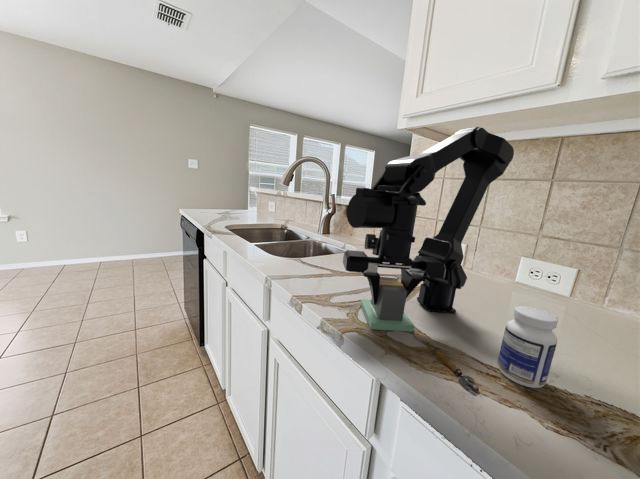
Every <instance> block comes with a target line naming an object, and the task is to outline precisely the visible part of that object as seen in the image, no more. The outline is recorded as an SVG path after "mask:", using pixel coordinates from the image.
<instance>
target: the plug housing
mask: <svg viewBox="0 0 640 479" xmlns="http://www.w3.org/2000/svg"><path fill="white" fill-rule="evenodd" d="M406 297H407V290H406V289H405V288H404V287H403V285H402V283H401V280H398V279H397V278H396V277H386V276H380V282H379V291H378V299H377V303H376V305H374V304H373V300H372V298H371V304H372V306H373V308H374V310H375V312H376V314H377V316H378V318H379V319H383V320H396V321H402V319H403V313H405V308H406V307H405V306H406V301H407V298H408V297H407V298H406Z"/></svg>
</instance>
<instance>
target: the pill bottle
mask: <svg viewBox="0 0 640 479" xmlns="http://www.w3.org/2000/svg"><path fill="white" fill-rule="evenodd" d="M512 315H513V317H514V318H512V319H510V320H509V321H507V323H506V324H505V329H504V333H503V337H502V341H501V345H500V351H499V354H498V358H497V361H496V362H497V363H496V365H497V368H498V370H499V371H500V373H502V375H503V376H504V377H506V378H508V379H509V380H510V381H512V382H514V383H516V384H518V385H521V386H524V387H527V388H532V389H540V388H543V387H544V386H545V385H546V383H547V381H548V376H549V373H550V370H551V366H552V363H553V360H554V359H553V358H554V356H555V353H556V348H557V344H558V337H557V335H556V334H555V332H554V330H556V329H557V326H558V322H559V319H558V317H557V316H555V315H554V314H552V313H550V312H548V311H545V310H542V309H539V308H535V307H531V306H526V305H519V306H515V308H514V309H513V314H512Z"/></svg>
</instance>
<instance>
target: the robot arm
mask: <svg viewBox="0 0 640 479" xmlns="http://www.w3.org/2000/svg"><path fill="white" fill-rule="evenodd" d="M514 154H515V150H514V147H513V146H512V144H511V143H509V142H508V141H507V140H506V139H505V137H502V136H498V135H496V134H493V133H490V132H488V131H487V130H486V129H485V128H484V127H480V126H474V127H469V128H463V129H462V128H461V129H460V130H458V131H455V133H454V134H452V135H451V136H449V137H447V138H445V139H443V140H442V141H440V142H438V143H436V144H434V145H432V146H431V147H429V148H427V149H426V150H424V151H422V152H420V153H417V154H414V155H407V156H403V157H401V158H396V159H393V160H390V161H389V162H388V163H387V164H386V165H384V166H385V167H384V171H383V173H382V174H381V175H380V176H379V179H378V180H377V181H376V182H375V183H374V185H373V186H372V188H369V187H356V189H355V194H354V195H352V197H351V198H350V200H349V202H348V205H346V208H345V209H346V212H345V214H346V220H347V222H348V224H349V225H350V227H352V228H354V229H381V230H380V231H379V234H378V237H377V235H376V234H374V233H366V234H365V236H364V237H365V239H364V249H365V250H372V255H373V256H368V255H367V254H366V252H365V251H363V250H361V251H360V250H349V249H348V250H345V252H343V259H342V264H343V267H344V270H345V271H346V272H350V273H360V274H362V276H363V277H365V278H366V279H367V281H368V285H369V289H370V294H371V299H372V300H373V304H374V305H376V303H377V299H378V291H379V282H380V277H381V274H379V272H378V268H382V269H384V268H385V269H396V270H400V273H401V274H400V276H401V277H400V278H401V279H400V282H401V283H402V285H403V287H404V288H405V289H406V290H407V297H406V299H407V298H408V297H409V295H410V294H411V293H412V292H413V291H414V290H415V289H416V288H417V287H418V286H419V284H420V288H419V293H418V296H417V298H416V300H417V301H418V302H419V303H420V304H421V305H422V306H423V307H424V308H425V309H426V310H427V311H428V312H437V313H453V314H456V313H457V309H455V308H454V307H453V306H454V301H455V297H456V291H457V290H461V289H462V287H464V286H465V284H466V282H467V280H468V276H467V274H466V273H465V270H464V268H463V266H462V263H463V260H464V252H463V247H462V242H463V240H464V237H465V236H466V233H467V232H468V229H469V227H470V225H471V223H472V222H473V219H474V216H475V215H476V212H477V210H478V208H479V206H480V204H481V202H482V200H483V198H484V196H485V193H486V191H487V189H488V187H489V185H490V184H491V183H493V182H494V181H496V180H497V179H498V178H500V177H501V176H503V175H504V173H505V171H506V170H507V168H508V166H509V165H510V163H511V162H512V160H513V158H514ZM458 159H460V160H461V161H463V164H462V167H463V171H464V179H463V182H462V183H461V185H460V187H459V189H458V192H457V193H456V196H455V198H454V199H453V202H452V204H451V206H450V208H449V210H448V213H447V215H446V216H445V219H444V220H443V223H442V226H441V228H440V229H439V231H438V233H437V234H436V235H434V236H433V237H428V236H427V237H425V238H424V239H423V242H422V246H421V247H420V249H419V250H418V251H417V254H418V255H416V256H415V257H414V258H413V259H412V258H410V255H411V248H412V243H415V242H416V241H415V240H416V236H414V230H415V224H416V218H417V211H418V206H422V207H423V206H426V205H427V201H426V200H425V199H424V198H423V197H422V195H421V193H420V192H422V191H424V190H425V188H427V187H428V186H429V185H430V184H431V183H432V182H433V181H434V180H435V177H436V173H438V172H439V171H440V170H441V169H443V168H445V167H447V166H448V165H450V164H451V163H453V162H455V161H457V160H458ZM375 256H377V257H375ZM421 282H422V283H421Z"/></svg>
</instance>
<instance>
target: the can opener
mask: <svg viewBox="0 0 640 479" xmlns="http://www.w3.org/2000/svg"><path fill="white" fill-rule="evenodd" d="M432 353H433V354H434V356H435V357H437V358H438V359H439V360H440V362H442V363H443V364H444V365H445V366H447V367H448V368H449V370H451V372H452V373H453V374H455V375H456V376H457V377H458V378H457V383H458V384H459V386H461V387H462V388H463V389H464V390H465V391H466V392H467V393H469V394H471V395H474V396H476V397H478V395H476V393H479V391H480V389H479V387H478V385H476V384H474V383H475V379H474V378H473V377H471V376H469V375H464V374H463V371H462V370H461V369H460V368H459V367H458V366H457V365H456V364H454V363H453V362H452V361H451V360H450V358H449V357H448V356H447V355H446V354H445V353H444V352H443V351H442V350H440V348H438V347H434V348H433V350H432ZM470 380H471V381H472V382H471V381H470ZM471 387H472V388H473V389H474V391H475V392H474V391H473V390H472V389H471Z"/></svg>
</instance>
